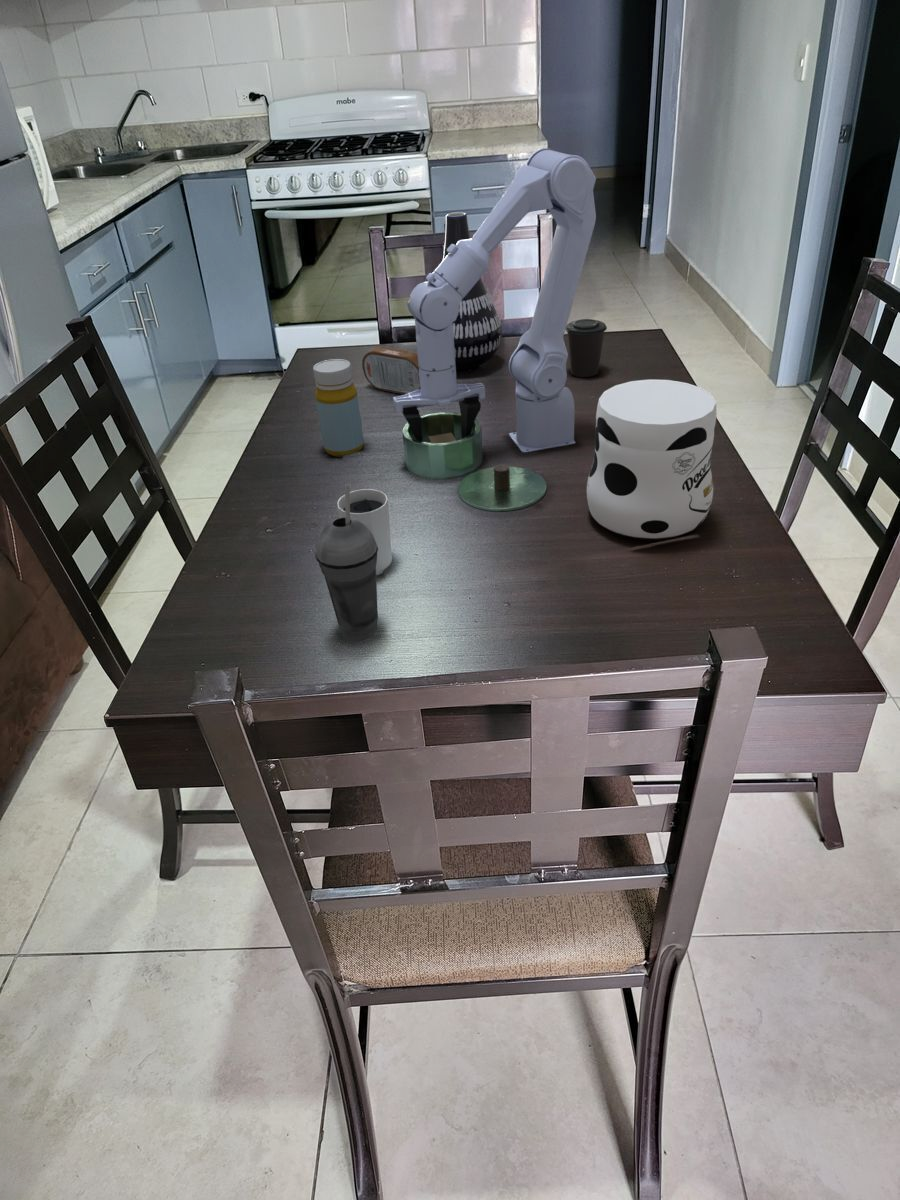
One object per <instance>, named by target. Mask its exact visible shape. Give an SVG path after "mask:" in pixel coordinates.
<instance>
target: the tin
mask: <svg viewBox="0 0 900 1200" xmlns="http://www.w3.org/2000/svg"><path fill="white" fill-rule="evenodd" d="M361 366H362V371H363V375H364V377H365V379H366V381H367V382H368V383H369V384H370V385H371V386H372V387H374V388H375V389H377V390H380V391H384V392H389V393H394V394H398V395H399V394H400V395H405V394H408V393H411V392H414V391H417V390H420V389H421V387H420V376H419V365H418V354H417V352H415V351H411V350H405V349H399V348H394V347H393V348H392V347H389V346H383V345H376V346H374V347H372V348H371V349H370V350H369V351H367V352H366V353H365V354H364V355H363V358H362V361H361Z"/></svg>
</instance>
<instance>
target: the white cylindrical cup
mask: <svg viewBox="0 0 900 1200" xmlns="http://www.w3.org/2000/svg"><path fill="white" fill-rule="evenodd" d="M336 504H337V509H338V514H339V518H340V517H345V494H343V495H342V496H340V497H339V498H338V500H337V502H336ZM350 517H351V518H355V519H357V520H359V521H361V522H363V523H364V524H365V525H366V526H367V527H368V528H369V529H370V530H371V532H372V534H373V536H374V539H375V541H376V544H377V547H378V552H377V564H376V576H379V575H382V574H384V573H385V571H384V570H386V569H387V568H388V567H389V566H390V565H391V563H392V561H393V556H392V554H393V553H392V542H391V541H392V539H391V527H390V512H389V499H388V496H387V494H386V493H384V492H383V491H382V490H378V489H374V488H362V489H355V490H352V491H350Z"/></svg>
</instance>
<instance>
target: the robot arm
mask: <svg viewBox="0 0 900 1200" xmlns="http://www.w3.org/2000/svg"><path fill="white" fill-rule="evenodd" d="M596 181H597V177H596V176H595V174H594V172H593V170H592V169H591V167H590V165H589V164H588V161H586V160H585V159H584V158H583V157H582V156H580V155H577V154H568V153H564V152H560V151H556V150H554V149H552V148H549V147H543V148H539V149H537V150H535V151H534V152H533V153H532V154H531V155H530V156H529V157H528V159H527V160H526V163H525V164H523V165H522V166H520V167H519V168H518V169H517V171H516V173H515V175H514V177H513V179H512V182H511V184H510V185H509V187H508V188H507V189H506V190H505V192H504V193H503V194H502V196H501V198H500V199H499V200H498V201H497V203H496V204H495V206H493V208H492V210H491V211H490V212H489V214H488V215H487V216H486V218H485V220H484V221H483V222H482V223H481V224H480V226H479V227H478V229H476V232H475V233H474V234H473V236H472V237H470V239H465V240H459V241H458V243H457V244H456V245H454V244H451V245H450V246H449V248H448V249H447V252H448V253H449V254H448V255H447V256H446V257H445V259H444V260H443V259H442V261H441V262H440V263H439V264H438V266H437V267H436V268H435V269H434V270H433V272H432V273H431V272H429V273H428V274H427V276H426V277H425V279H426V280H427V281H426V280H425V281H423V282H420V283H418V284H417V285H416V286H415V287H414V288H413V289H412V290H411V293H410V295H409V297H410V299H408V302H407V303H406V306H407V309H408V311H409V314H411V316H412V317H413V318H414V326H415V339H416V340H415V341H416V343H415V344H416V353H417V354H418V365H419V376H420V387H421V389H420V390H417V391H414V392H411V393H408V394H405V395H403V394H400V395H397V396H393V397H392V400H393V401H392V402H393V409H394V411H395V412H396V413H395V414H400V413H402V415H403V417H404V418H405V420H406V422H407V423H409V425H410V427H411V430H412V432H413V434H414V437H415V439H416V440H418V441H422V442H423V439H422V428H421V419H422V418H421V416H422V415H421V414H420V411H419V409H421V408H425V407H432V406H437V405H438V406H440V407H443V406H449V405H451V404H452V403H456V402H458V404H459V411H460V412H459V413H461V434H462V439H463V438H466V437H468V436H469V435H471V431H472V427H473V424H474V421H475V419H477V417H478V414H479V413H480V411H481V408H482V404H481V402H480V400H485V399H486V387H485V385H484V384H483V383H482V382H478V383H458V382H457V371H456V364H455V350H454V335H453V323H452V322H454V321H455V320H456V318H457V316H458V311H459V304H460V302H461V301H462V300H463V298H464V297H465V296H466V295H467V294H468V292H469V291H470V290H471V289H472V287H473V286H474V285H475V284H476V283H477V281H478V280H479V279H480V278H483V276H484V274H485V273H486V272H487V271H488V270H489V267H490V266H489V265H490V255H491V253H492V252H493V251H494V250H495V249H496V248H497V247H498V246H499V245H500V243H501V242H503V240H504V239H505V238H506V237H507V236H508V235H509V234H510V233H511V232H512V231H513V229H514V228H515V227H516V226H517V225H518V224H519V223H520V222H521V221H522V220H523V219H524V217H525V216H526V215H527V214H529V213H534V212H538V211H545V210H548V211H549V213H550V215H551V216H552V218H553V219H554V221H555V223H556V228H555V231H554V236H553V238H552V239H553V240H552V243H551V247H550V250H549V254H548V259H547V262H546V265H545V270H544V274H543V277H542V281H541V286H540V289H539V290H540V291H539V294H538V297H537V301H536V304H535V308H534V312H533V317H532V321H531V325H530V328H529V329H528V330H526V331H525V332H524V333H523V334H522V335H521V336H520V338H519V342H518V345H517V347H516V348H515V350H514V351H513V353H512V354H511V355H510V358H509V361H508V371H509V374H510V376H511V377H512V379H514V380H515V390H514V391H515V432H509V433H508V436H509V437H510V439H512V441H513V442H514V443H515V445H516V446H517V447H518V449H519V450H520V451H521V452H522V453H528V452H529V453H530V452H534V451H540V450H545V449H551V448H557V447H563V446H568V445H573V444H576V441H575V418H576V416H575V414H576V413H575V411H576V409H575V399H574V396H573V393H572V391H571V389H570V388H569V387H567V386H566V383H567V380H568V373H567V362H568V358H569V352H568V350H567V346H566V344H565V339H564V335H565V333H566V330H565V329H566V326H567V324H568V323H569V318H570V315H571V310H572V307H573V304H574V301H575V296H576V293H577V290H578V287H579V283H580V278H581V275H582V272H583V268H584V265H585V261H586V257H587V254H588V250H589V247H590V243H591V240H592V236H593V233H594V230H595V229H594V228H595V225H596V220H597V213H596V204H595V196H594V188H595V184H596Z"/></svg>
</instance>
